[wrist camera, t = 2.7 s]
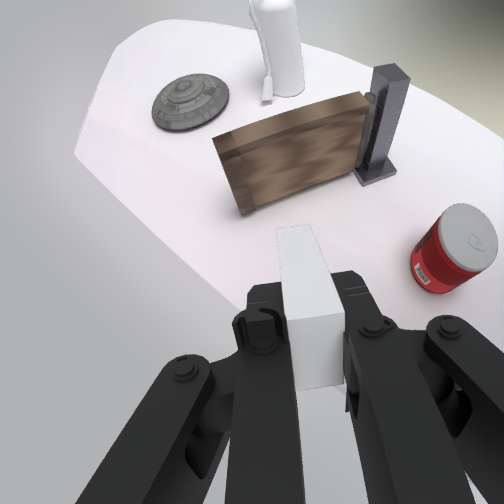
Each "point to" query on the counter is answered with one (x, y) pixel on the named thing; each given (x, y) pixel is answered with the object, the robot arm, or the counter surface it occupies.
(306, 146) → the gate
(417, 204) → the counter surface
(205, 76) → the flying saucer
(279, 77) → the fire extinguisher
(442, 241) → the canned food
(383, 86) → the gate post
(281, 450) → the robot arm
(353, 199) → the counter surface
